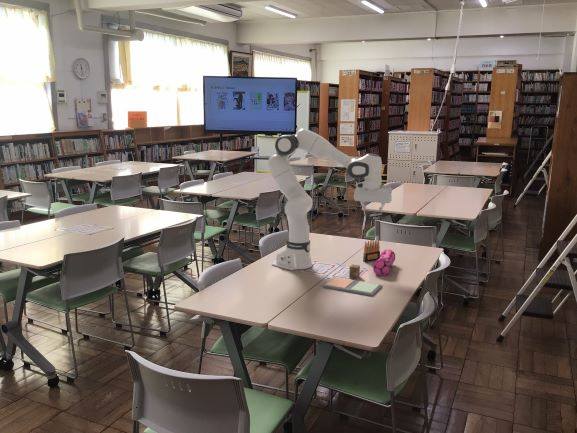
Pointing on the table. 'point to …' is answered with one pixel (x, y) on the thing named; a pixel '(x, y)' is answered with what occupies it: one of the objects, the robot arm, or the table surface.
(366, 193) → the robot arm
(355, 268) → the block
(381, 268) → the pencil case
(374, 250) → the ammunition clip
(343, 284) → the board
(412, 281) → the table surface
